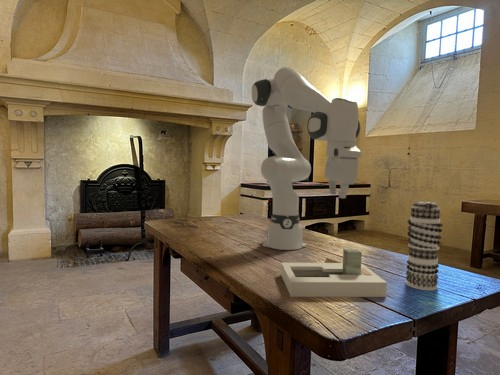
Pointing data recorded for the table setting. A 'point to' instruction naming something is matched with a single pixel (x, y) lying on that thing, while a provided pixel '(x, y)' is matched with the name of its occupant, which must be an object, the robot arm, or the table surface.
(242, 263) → the table surface
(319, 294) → the keyhole plate
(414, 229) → the decorative candle
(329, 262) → the shard
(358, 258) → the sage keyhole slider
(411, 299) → the table surface
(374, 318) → the table surface
